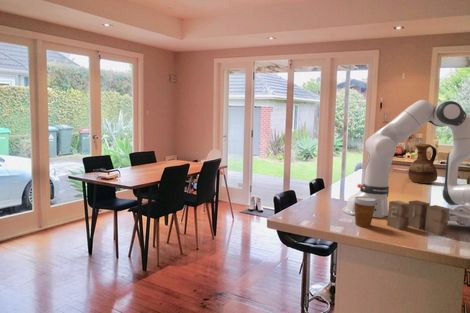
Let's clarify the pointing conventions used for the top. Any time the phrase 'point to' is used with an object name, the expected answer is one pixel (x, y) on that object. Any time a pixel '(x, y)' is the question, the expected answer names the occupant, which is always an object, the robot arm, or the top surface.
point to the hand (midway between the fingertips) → (446, 218)
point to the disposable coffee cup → (364, 210)
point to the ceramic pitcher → (423, 166)
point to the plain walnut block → (436, 220)
